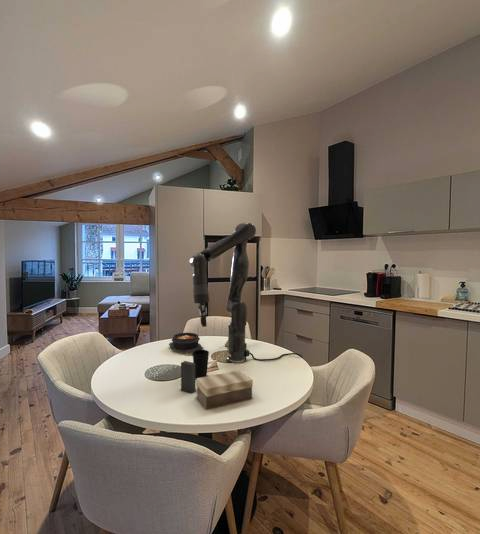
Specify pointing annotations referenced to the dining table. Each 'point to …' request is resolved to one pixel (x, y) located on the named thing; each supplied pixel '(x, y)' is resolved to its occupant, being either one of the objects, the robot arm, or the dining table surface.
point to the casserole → (185, 342)
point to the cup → (200, 363)
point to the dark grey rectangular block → (188, 376)
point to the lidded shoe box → (224, 389)
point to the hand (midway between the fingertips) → (203, 325)
